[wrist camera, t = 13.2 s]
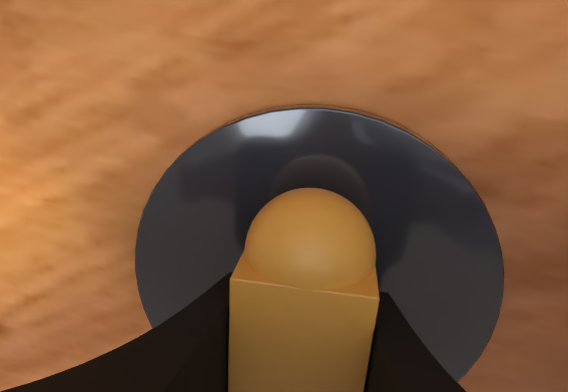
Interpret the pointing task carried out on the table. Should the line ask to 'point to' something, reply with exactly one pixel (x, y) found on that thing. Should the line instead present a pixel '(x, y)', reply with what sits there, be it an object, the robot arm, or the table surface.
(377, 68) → the table surface
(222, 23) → the table surface
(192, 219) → the saucer
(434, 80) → the table surface
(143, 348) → the robot arm
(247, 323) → the eggroll
